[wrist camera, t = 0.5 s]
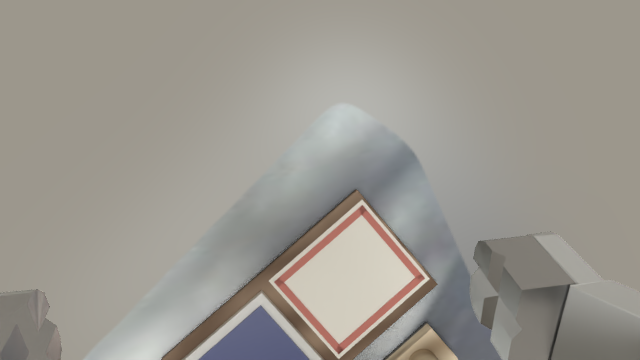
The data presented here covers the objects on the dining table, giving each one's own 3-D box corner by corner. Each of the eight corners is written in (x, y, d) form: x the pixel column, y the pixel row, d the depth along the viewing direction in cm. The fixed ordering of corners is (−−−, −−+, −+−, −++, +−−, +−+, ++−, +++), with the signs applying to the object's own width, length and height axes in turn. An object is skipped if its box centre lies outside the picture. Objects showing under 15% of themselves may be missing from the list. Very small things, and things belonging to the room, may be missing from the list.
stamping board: (435, 282, 63) (437, 284, 62) (247, 447, 62) (247, 452, 61) (356, 189, 61) (357, 190, 60) (162, 357, 60) (160, 361, 59)
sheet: (429, 278, 62) (430, 279, 62) (338, 358, 61) (338, 359, 61) (362, 199, 61) (362, 199, 60) (268, 280, 60) (268, 281, 60)
